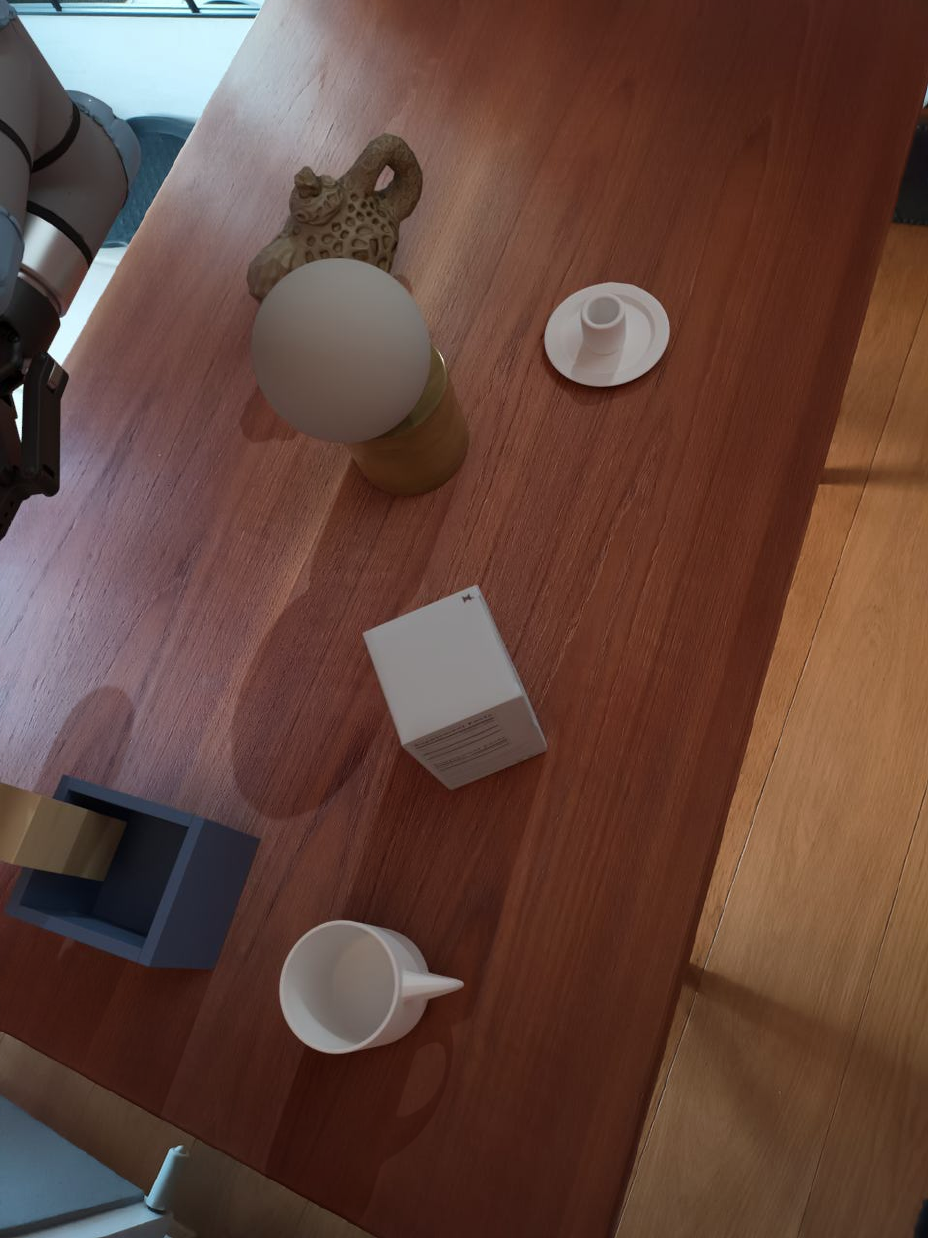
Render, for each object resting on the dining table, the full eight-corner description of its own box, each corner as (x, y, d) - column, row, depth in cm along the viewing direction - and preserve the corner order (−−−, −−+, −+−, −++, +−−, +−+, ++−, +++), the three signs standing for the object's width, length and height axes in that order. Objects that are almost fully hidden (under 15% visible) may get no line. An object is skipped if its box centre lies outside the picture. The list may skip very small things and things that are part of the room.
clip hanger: (45, 862, 79) (-54, 841, 68) (70, 803, 81) (-23, 774, 70) (103, 882, 78) (11, 864, 67) (127, 822, 79) (41, 795, 68)
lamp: (418, 555, 88) (333, 405, 65) (301, 494, 93) (184, 334, 70) (503, 427, 92) (451, 241, 69) (386, 375, 96) (300, 184, 73)
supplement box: (412, 694, 84) (356, 627, 68) (509, 653, 83) (475, 577, 68) (449, 795, 80) (399, 749, 64) (551, 752, 79) (525, 695, 64)
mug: (475, 1046, 73) (446, 1056, 63) (324, 1044, 75) (274, 1053, 65) (475, 928, 76) (448, 919, 66) (330, 929, 78) (283, 920, 68)
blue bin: (83, 922, 82) (2, 913, 72) (133, 799, 85) (62, 773, 75) (214, 969, 78) (148, 967, 68) (261, 838, 82) (205, 818, 71)
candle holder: (620, 267, 96) (619, 236, 92) (695, 344, 91) (696, 314, 87) (522, 332, 95) (515, 304, 91) (591, 412, 90) (588, 386, 86)
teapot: (308, 374, 98) (251, 274, 85) (248, 312, 103) (185, 207, 89) (466, 248, 100) (435, 131, 86) (400, 193, 105) (361, 73, 91)
